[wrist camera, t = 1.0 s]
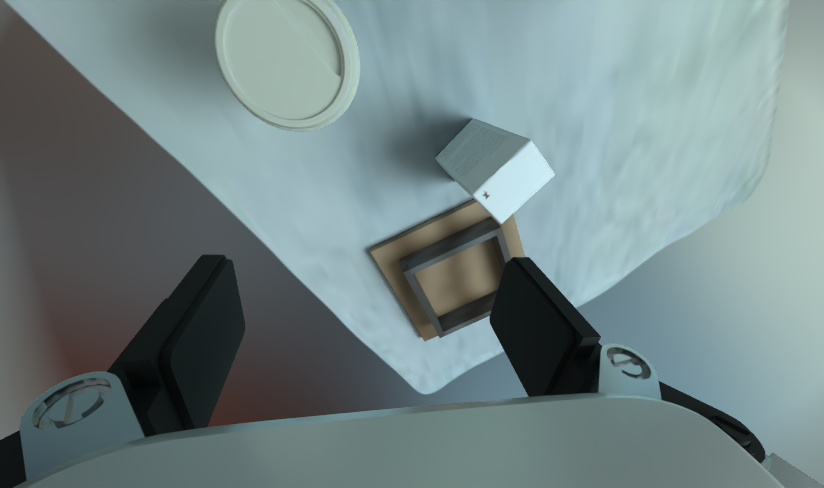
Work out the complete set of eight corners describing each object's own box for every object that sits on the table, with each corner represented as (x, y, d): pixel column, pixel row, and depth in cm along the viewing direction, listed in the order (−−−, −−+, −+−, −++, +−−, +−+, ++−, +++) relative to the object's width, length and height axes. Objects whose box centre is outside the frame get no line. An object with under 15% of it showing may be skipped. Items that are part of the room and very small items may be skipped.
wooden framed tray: (502, 185, 38) (518, 197, 34) (531, 287, 47) (545, 305, 44) (369, 248, 39) (372, 265, 35) (423, 336, 48) (429, 357, 45)
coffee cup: (363, 107, 31) (371, 127, 21) (275, 118, 30) (238, 145, 20) (346, -1, 27) (345, -44, 16) (242, 9, 26) (172, -31, 15)
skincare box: (457, 182, 37) (500, 227, 26) (433, 157, 35) (469, 195, 24) (496, 143, 35) (558, 175, 25) (473, 115, 33) (530, 137, 23)
